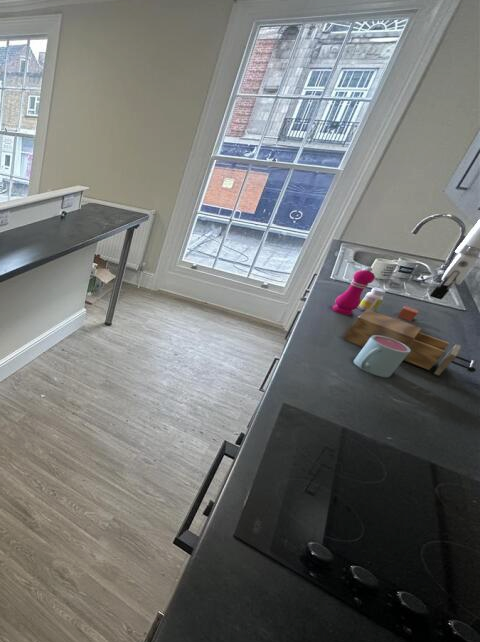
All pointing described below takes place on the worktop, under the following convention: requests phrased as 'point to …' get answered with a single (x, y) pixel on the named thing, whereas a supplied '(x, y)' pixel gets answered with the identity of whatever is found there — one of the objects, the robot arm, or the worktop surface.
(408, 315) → the block
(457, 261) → the robot arm
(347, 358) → the worktop surface
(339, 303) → the pepper mill
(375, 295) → the supplement bottle
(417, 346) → the drawer
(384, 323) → the cabinet
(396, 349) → the mug
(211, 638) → the worktop surface
